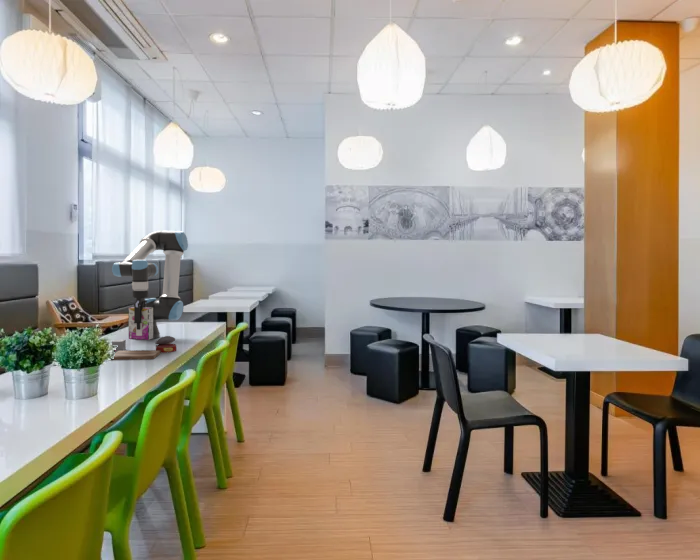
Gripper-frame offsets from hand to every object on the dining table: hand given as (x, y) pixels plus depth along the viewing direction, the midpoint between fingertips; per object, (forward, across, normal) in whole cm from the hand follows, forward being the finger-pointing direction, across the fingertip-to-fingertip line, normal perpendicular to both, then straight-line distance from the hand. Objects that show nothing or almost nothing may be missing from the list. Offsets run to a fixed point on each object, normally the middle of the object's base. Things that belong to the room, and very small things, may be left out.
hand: (141, 334), depth 243 cm
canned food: (+9, +3, +13) cm, 16 cm away
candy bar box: (+3, 0, 0) cm, 3 cm away
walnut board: (+8, +16, +2) cm, 18 cm away
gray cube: (+8, 0, -11) cm, 14 cm away
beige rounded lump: (+8, -6, +11) cm, 15 cm away
